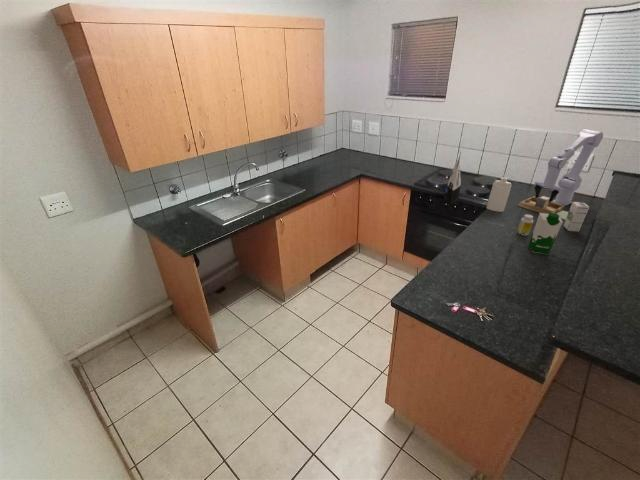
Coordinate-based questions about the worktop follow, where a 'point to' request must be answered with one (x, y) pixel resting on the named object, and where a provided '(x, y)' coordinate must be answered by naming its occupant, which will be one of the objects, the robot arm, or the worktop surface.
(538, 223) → the milk carton
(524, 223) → the supplement bottle
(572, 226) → the syrup box
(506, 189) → the squeeze bottle
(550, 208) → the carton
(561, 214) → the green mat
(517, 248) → the worktop surface
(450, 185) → the model sailboat
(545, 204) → the box
